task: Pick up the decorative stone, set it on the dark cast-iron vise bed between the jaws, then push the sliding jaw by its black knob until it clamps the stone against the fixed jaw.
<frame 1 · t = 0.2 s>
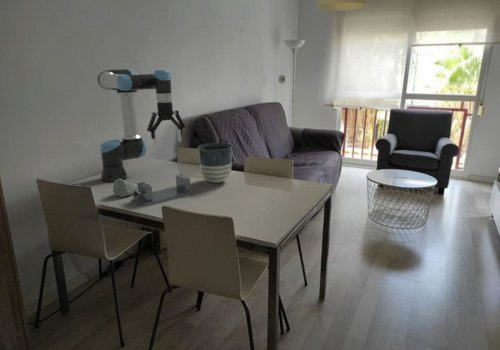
hand: (167, 143, 193), 28 cm above the table, fingers open, 13 cm apart
jaw: (140, 191, 186), point 5 cm above the table, slide at 0.0 cm
planter: (216, 182, 220), on the table
decorative stone: (127, 194, 200), on the table
vise base: (163, 196, 196), on the table
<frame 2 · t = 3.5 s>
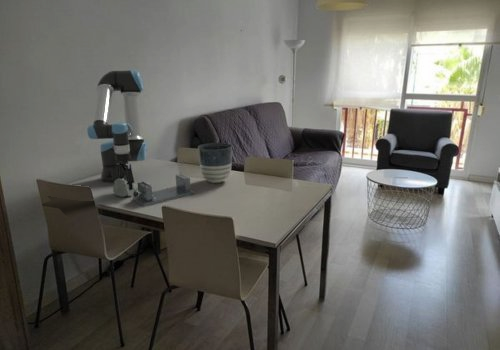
hand: (126, 192, 200), 1 cm above the table, fingers closed on decorative stone, 10 cm apart
decorative stone: (127, 194, 200), on the table, touching gripper
everything else where it was.
when the fingers open (4 cm above the table, at t = 9.7 s): decorative stone drops 1 cm, resting on vise base.
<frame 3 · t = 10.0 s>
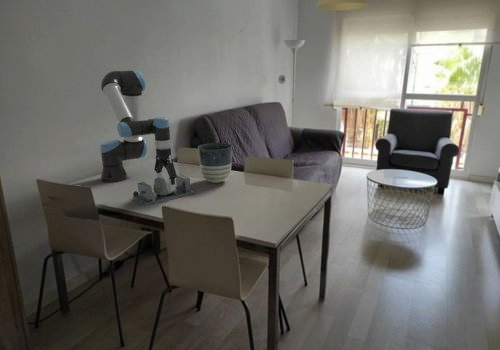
hand: (166, 187, 196), 5 cm above the table, fingers open, 13 cm apart
decorative stone: (166, 193, 197), point 1 cm above the table, touching vise base
everything else where it was.
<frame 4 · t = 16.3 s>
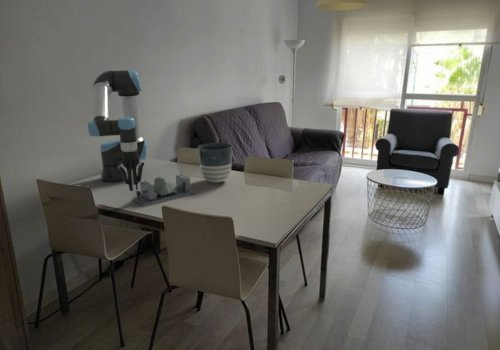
hand: (134, 196, 185), 4 cm above the table, fingers closed
jaw: (142, 191, 187), point 6 cm above the table, slide at 1.3 cm, touching gripper
everything else where it was.
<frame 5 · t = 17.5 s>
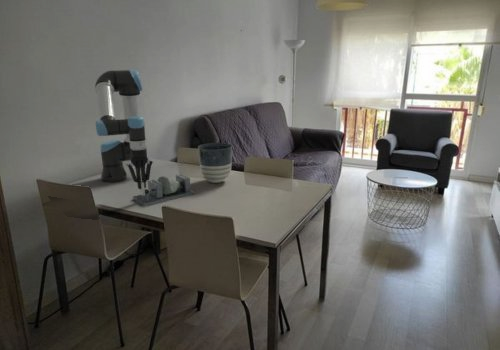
hand: (142, 194, 188), 4 cm above the table, fingers closed
jaw: (150, 189, 190), point 6 cm above the table, slide at 5.6 cm, touching decorative stone, gripper
decorative stone: (170, 192, 198), point 1 cm above the table, touching jaw, vise base
everything else where it was.
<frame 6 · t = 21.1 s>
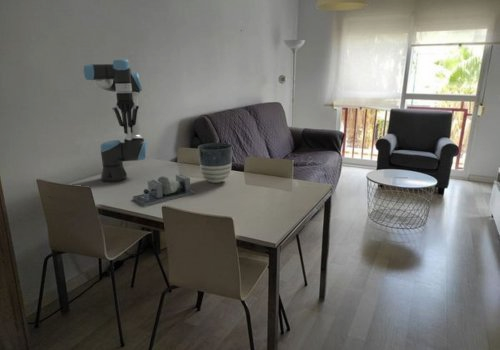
hand: (129, 139, 188), 30 cm above the table, fingers closed
jaw: (150, 189, 190), point 6 cm above the table, slide at 5.6 cm, touching decorative stone
everything else where it was.
at the end: jaw slide at 5.6 cm; jaw touching decorative stone; decorative stone inside the target area (1.5 cm from its centre), point 1.3 cm above the table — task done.
